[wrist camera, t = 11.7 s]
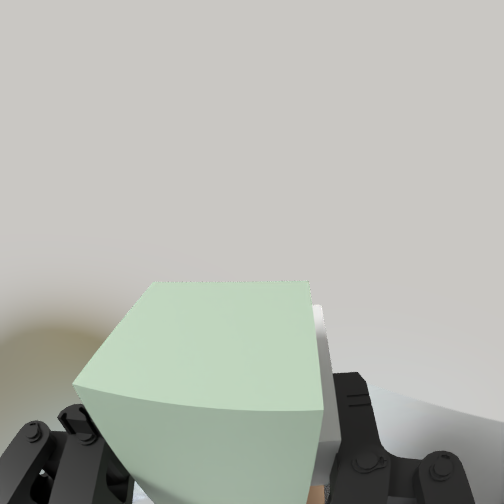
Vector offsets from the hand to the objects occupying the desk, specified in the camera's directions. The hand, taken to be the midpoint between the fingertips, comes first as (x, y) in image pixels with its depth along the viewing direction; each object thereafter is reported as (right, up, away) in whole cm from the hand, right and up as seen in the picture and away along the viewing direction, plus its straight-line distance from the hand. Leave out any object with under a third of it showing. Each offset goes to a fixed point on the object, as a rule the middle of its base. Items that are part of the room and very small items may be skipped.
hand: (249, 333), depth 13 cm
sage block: (0, -11, -1) cm, 11 cm away
